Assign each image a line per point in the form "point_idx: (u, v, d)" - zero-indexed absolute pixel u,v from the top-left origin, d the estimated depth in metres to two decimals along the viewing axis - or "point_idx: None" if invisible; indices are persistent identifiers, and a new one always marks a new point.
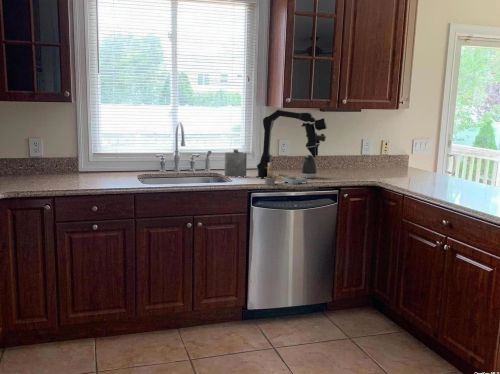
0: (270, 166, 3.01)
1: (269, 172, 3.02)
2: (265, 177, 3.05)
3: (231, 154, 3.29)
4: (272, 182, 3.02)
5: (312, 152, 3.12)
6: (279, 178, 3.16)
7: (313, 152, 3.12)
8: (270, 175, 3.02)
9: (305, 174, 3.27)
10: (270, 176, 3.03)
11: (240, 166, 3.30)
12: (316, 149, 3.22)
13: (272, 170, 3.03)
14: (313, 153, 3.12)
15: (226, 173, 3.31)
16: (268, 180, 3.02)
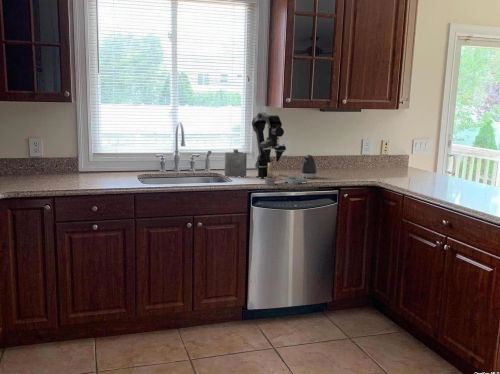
0: (270, 166, 3.01)
1: (269, 172, 3.02)
2: (265, 177, 3.05)
3: (231, 154, 3.29)
4: (272, 182, 3.02)
5: None
6: (279, 178, 3.16)
7: None
8: (270, 175, 3.02)
9: (305, 174, 3.27)
10: (270, 176, 3.03)
11: (240, 166, 3.30)
12: None
13: (272, 170, 3.03)
14: None
15: (226, 173, 3.31)
16: (268, 180, 3.02)
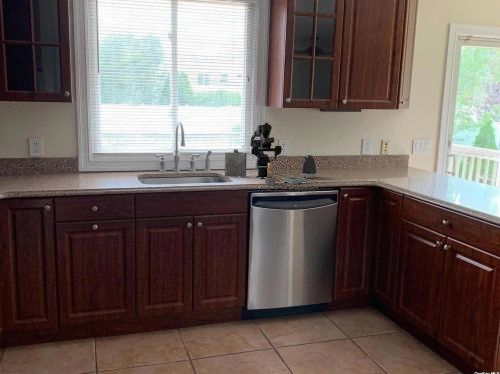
0: (270, 166, 3.01)
1: (269, 172, 3.02)
2: (265, 177, 3.05)
3: (231, 154, 3.29)
4: (272, 182, 3.02)
5: (258, 156, 3.12)
6: (279, 178, 3.16)
7: (258, 156, 3.11)
8: (270, 175, 3.02)
9: (305, 174, 3.27)
10: (270, 176, 3.03)
11: (240, 166, 3.30)
12: (274, 155, 3.13)
13: (272, 170, 3.03)
14: (258, 157, 3.11)
15: (226, 173, 3.31)
16: (268, 180, 3.02)
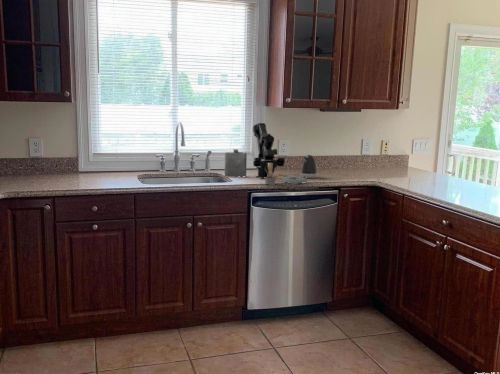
0: (270, 166, 3.01)
1: (269, 172, 3.02)
2: (265, 177, 3.05)
3: (231, 154, 3.29)
4: (272, 182, 3.02)
5: (265, 169, 3.04)
6: (279, 178, 3.16)
7: (265, 168, 3.04)
8: (270, 175, 3.02)
9: (305, 174, 3.27)
10: (270, 176, 3.03)
11: (240, 166, 3.30)
12: None
13: (272, 170, 3.03)
14: (265, 169, 3.03)
15: (226, 173, 3.31)
16: (268, 180, 3.02)
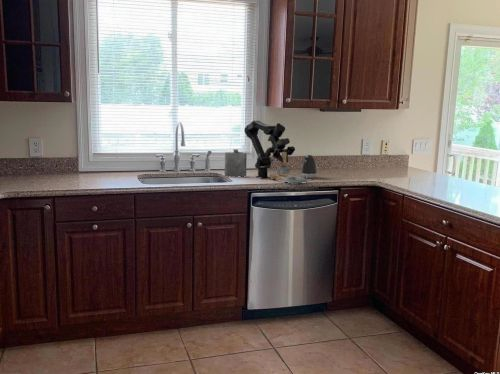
0: (285, 155, 3.03)
1: (284, 161, 3.04)
2: None
3: (231, 154, 3.29)
4: (287, 171, 3.05)
5: (278, 158, 3.05)
6: (279, 178, 3.16)
7: (279, 158, 3.04)
8: (285, 164, 3.05)
9: (305, 174, 3.27)
10: (285, 165, 3.05)
11: (240, 166, 3.30)
12: None
13: None
14: (279, 159, 3.04)
15: (226, 173, 3.31)
16: (283, 169, 3.03)
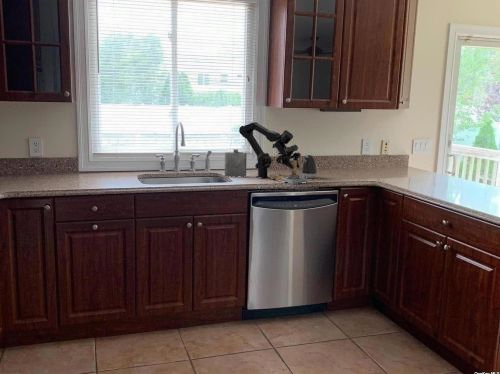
0: (295, 163, 3.10)
1: (295, 169, 3.10)
2: None
3: (231, 154, 3.29)
4: (298, 178, 3.11)
5: (288, 165, 3.09)
6: (279, 178, 3.16)
7: (289, 164, 3.08)
8: None
9: (305, 174, 3.27)
10: (295, 173, 3.11)
11: (240, 166, 3.30)
12: None
13: None
14: (289, 165, 3.08)
15: (226, 173, 3.31)
16: (295, 177, 3.09)
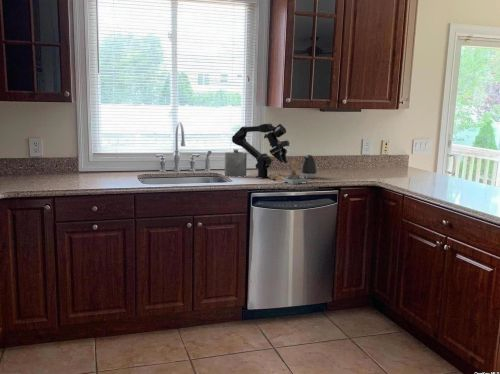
0: (295, 163, 3.10)
1: (295, 169, 3.10)
2: None
3: (231, 154, 3.29)
4: (298, 178, 3.11)
5: (278, 157, 3.13)
6: (279, 178, 3.16)
7: (279, 157, 3.13)
8: None
9: (305, 174, 3.27)
10: (295, 173, 3.11)
11: (240, 166, 3.30)
12: (284, 157, 3.23)
13: None
14: (279, 158, 3.13)
15: (226, 173, 3.31)
16: (295, 177, 3.09)
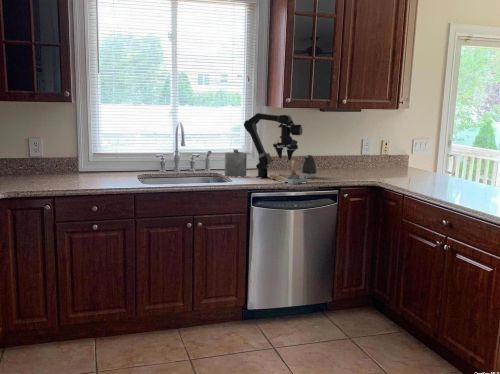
0: (295, 163, 3.10)
1: (295, 169, 3.10)
2: None
3: (231, 154, 3.29)
4: (298, 178, 3.11)
5: (290, 155, 3.16)
6: (279, 178, 3.16)
7: (290, 155, 3.16)
8: None
9: (305, 174, 3.27)
10: (295, 173, 3.11)
11: (240, 166, 3.30)
12: (281, 152, 3.25)
13: None
14: (290, 156, 3.16)
15: (226, 173, 3.31)
16: (295, 177, 3.09)
